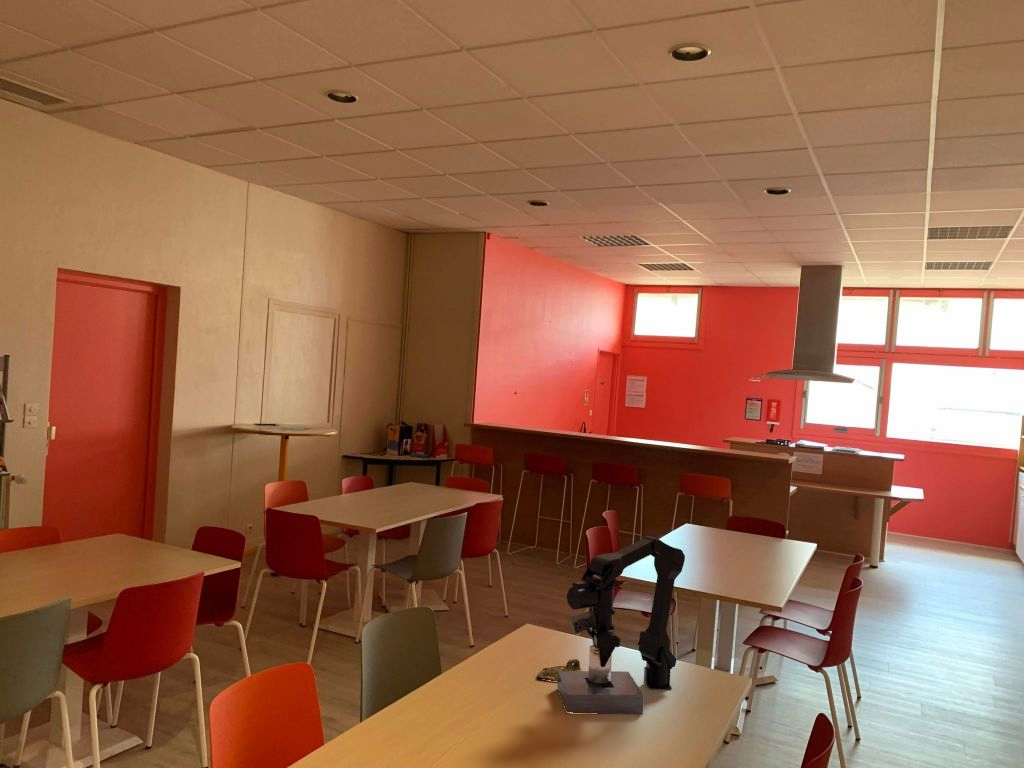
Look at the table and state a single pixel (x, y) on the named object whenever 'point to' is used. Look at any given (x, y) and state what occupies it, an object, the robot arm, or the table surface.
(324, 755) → the table surface
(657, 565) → the robot arm
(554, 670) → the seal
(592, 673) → the end cover
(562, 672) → the housing
